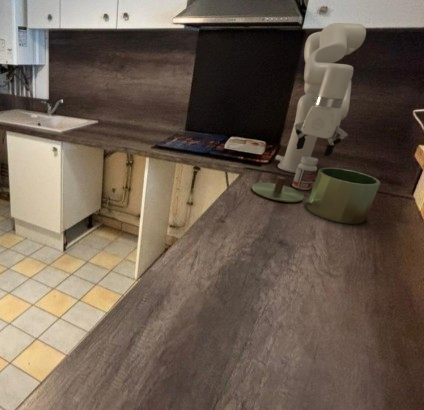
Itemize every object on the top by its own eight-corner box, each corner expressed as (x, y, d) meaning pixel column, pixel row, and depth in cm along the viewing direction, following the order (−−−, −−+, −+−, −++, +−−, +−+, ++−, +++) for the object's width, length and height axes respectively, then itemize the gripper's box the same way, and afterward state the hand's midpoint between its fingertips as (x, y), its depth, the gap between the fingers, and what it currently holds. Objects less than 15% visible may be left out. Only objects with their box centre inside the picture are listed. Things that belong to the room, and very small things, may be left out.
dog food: (262, 160, 166) (265, 150, 164) (221, 153, 173) (223, 143, 171) (265, 146, 191) (267, 137, 189) (229, 141, 198) (231, 132, 196)
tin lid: (241, 189, 128) (245, 173, 126) (268, 183, 137) (272, 167, 134) (286, 207, 116) (291, 189, 113) (312, 198, 124) (318, 182, 122)
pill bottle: (313, 188, 134) (323, 159, 129) (305, 191, 130) (314, 161, 126) (296, 183, 138) (306, 155, 134) (288, 185, 135) (297, 157, 130)
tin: (297, 207, 116) (309, 171, 111) (321, 199, 124) (333, 165, 119) (349, 228, 104) (366, 188, 99) (372, 217, 112) (389, 180, 107)
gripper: (297, 99, 126) (283, 147, 133) (351, 107, 113) (333, 159, 120) (308, 99, 130) (294, 145, 137) (362, 107, 117) (343, 157, 124)
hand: (312, 152), depth 128 cm, fingers open, 9 cm apart
